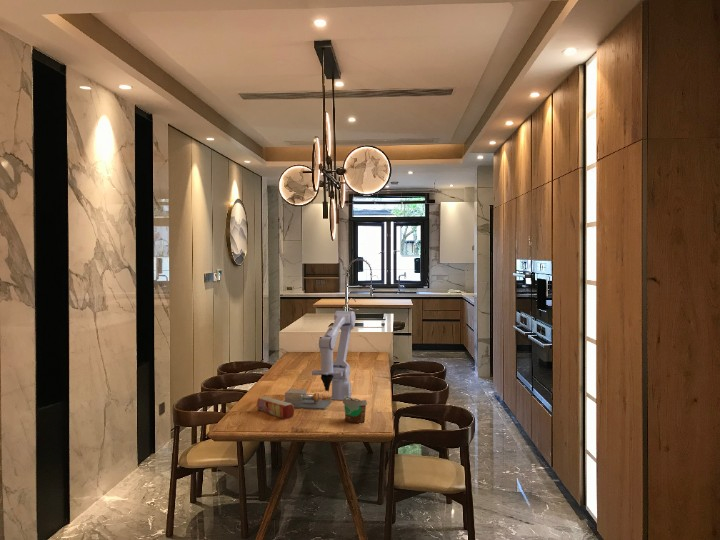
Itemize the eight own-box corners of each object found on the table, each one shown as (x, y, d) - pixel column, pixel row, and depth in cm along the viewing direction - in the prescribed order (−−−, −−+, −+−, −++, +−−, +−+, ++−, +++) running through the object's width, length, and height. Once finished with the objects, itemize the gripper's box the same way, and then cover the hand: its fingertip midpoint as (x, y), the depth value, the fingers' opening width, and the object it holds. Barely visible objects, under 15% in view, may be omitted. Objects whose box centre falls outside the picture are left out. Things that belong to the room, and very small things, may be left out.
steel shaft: (319, 401, 267) (319, 392, 267) (316, 403, 263) (316, 394, 263) (287, 399, 270) (287, 390, 270) (284, 401, 266) (284, 392, 266)
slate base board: (331, 402, 271) (331, 400, 271) (324, 409, 257) (324, 408, 257) (288, 399, 275) (288, 398, 275) (279, 407, 261) (278, 405, 261)
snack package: (255, 411, 256) (255, 396, 256) (267, 408, 261) (267, 394, 261) (282, 421, 241) (282, 405, 241) (295, 417, 245) (295, 402, 245)
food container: (336, 420, 241) (336, 397, 241) (347, 417, 245) (347, 394, 245) (356, 426, 232) (356, 402, 232) (366, 423, 237) (367, 400, 236)
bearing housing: (306, 400, 270) (306, 389, 270) (301, 405, 262) (301, 393, 262) (290, 400, 272) (290, 388, 272) (285, 404, 264) (285, 392, 264)
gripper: (310, 363, 261) (310, 391, 262) (340, 364, 259) (340, 393, 259) (313, 360, 268) (314, 388, 269) (343, 361, 266) (343, 389, 266)
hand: (327, 390), depth 264 cm, fingers closed
